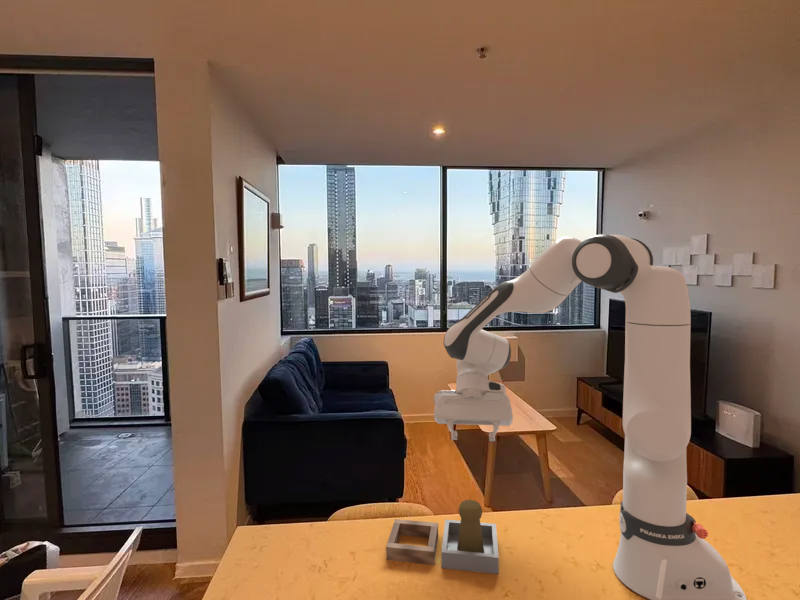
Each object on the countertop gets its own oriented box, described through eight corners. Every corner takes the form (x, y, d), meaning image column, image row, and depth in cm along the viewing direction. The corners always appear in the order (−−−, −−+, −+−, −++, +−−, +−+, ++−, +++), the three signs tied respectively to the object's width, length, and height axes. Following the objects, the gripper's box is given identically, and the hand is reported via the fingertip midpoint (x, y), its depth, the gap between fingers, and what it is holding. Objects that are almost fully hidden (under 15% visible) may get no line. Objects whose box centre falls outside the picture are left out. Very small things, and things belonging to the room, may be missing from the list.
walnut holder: (438, 534, 101) (438, 522, 101) (434, 564, 91) (433, 551, 91) (395, 530, 103) (395, 519, 103) (386, 559, 93) (386, 546, 92)
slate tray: (495, 538, 99) (495, 523, 99) (498, 574, 88) (498, 557, 87) (445, 533, 102) (445, 519, 101) (441, 568, 90) (441, 552, 90)
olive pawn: (484, 560, 91) (483, 512, 90) (456, 557, 92) (455, 509, 92) (484, 543, 97) (484, 497, 96) (458, 540, 98) (457, 494, 97)
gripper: (433, 384, 114) (430, 432, 105) (510, 385, 110) (514, 435, 101) (435, 395, 118) (433, 443, 109) (509, 397, 115) (513, 446, 106)
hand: (473, 439), depth 105 cm, fingers open, 8 cm apart
